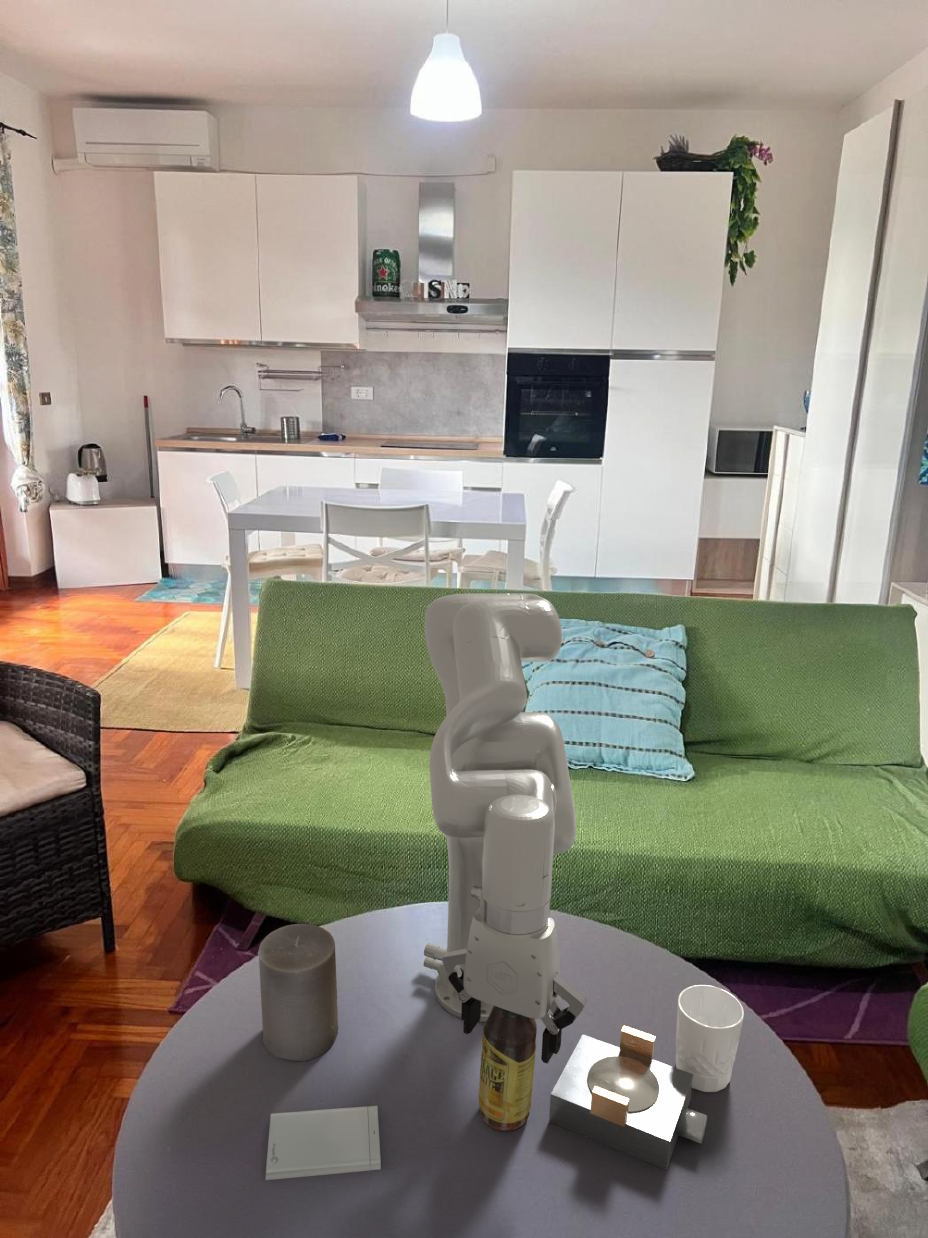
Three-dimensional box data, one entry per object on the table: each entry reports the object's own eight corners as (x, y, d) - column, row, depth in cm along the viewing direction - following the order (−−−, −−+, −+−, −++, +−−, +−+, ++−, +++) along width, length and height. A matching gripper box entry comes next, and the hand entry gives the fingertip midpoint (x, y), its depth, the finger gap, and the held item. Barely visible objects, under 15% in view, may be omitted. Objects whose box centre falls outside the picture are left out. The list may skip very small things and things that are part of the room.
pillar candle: (319, 1000, 125) (315, 906, 121) (350, 1044, 118) (348, 945, 113) (251, 1027, 120) (245, 929, 116) (280, 1075, 112) (274, 972, 108)
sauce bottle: (469, 1102, 109) (474, 960, 104) (516, 1087, 112) (523, 948, 106) (492, 1144, 103) (499, 997, 98) (541, 1127, 106) (550, 983, 100)
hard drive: (265, 1172, 98) (380, 1161, 100) (270, 1112, 106) (377, 1102, 107) (265, 1184, 98) (380, 1173, 100) (270, 1123, 106) (377, 1114, 108)
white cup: (737, 1102, 110) (746, 1033, 108) (671, 1090, 112) (678, 1022, 109) (732, 1055, 118) (741, 990, 115) (670, 1045, 119) (677, 980, 116)
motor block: (547, 1125, 106) (550, 1075, 104) (581, 1058, 117) (585, 1012, 115) (689, 1184, 99) (696, 1132, 97) (713, 1107, 109) (719, 1059, 108)
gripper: (429, 903, 100) (427, 1036, 104) (578, 949, 92) (569, 1089, 97) (460, 872, 106) (457, 998, 111) (602, 912, 99) (592, 1046, 103)
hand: (509, 1040), depth 104 cm, fingers open, 9 cm apart
